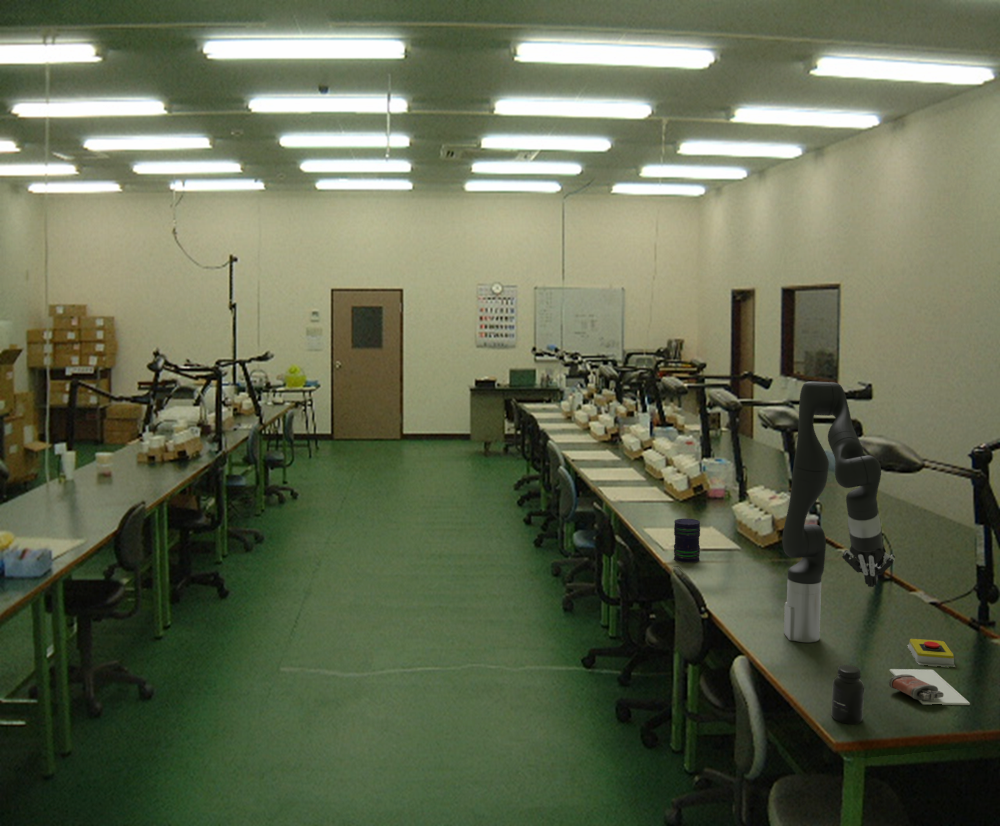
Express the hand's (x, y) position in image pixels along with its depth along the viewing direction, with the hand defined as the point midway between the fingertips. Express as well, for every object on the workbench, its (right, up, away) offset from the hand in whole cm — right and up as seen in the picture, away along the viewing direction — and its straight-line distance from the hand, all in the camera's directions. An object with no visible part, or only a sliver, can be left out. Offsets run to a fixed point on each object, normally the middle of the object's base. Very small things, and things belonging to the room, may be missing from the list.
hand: (871, 585), depth 225 cm
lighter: (+3, -22, -9) cm, 24 cm away
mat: (+11, -24, -8) cm, 27 cm away
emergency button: (+21, -23, +13) cm, 34 cm away
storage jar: (-24, -12, +111) cm, 114 cm away
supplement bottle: (-16, -26, -24) cm, 39 cm away
